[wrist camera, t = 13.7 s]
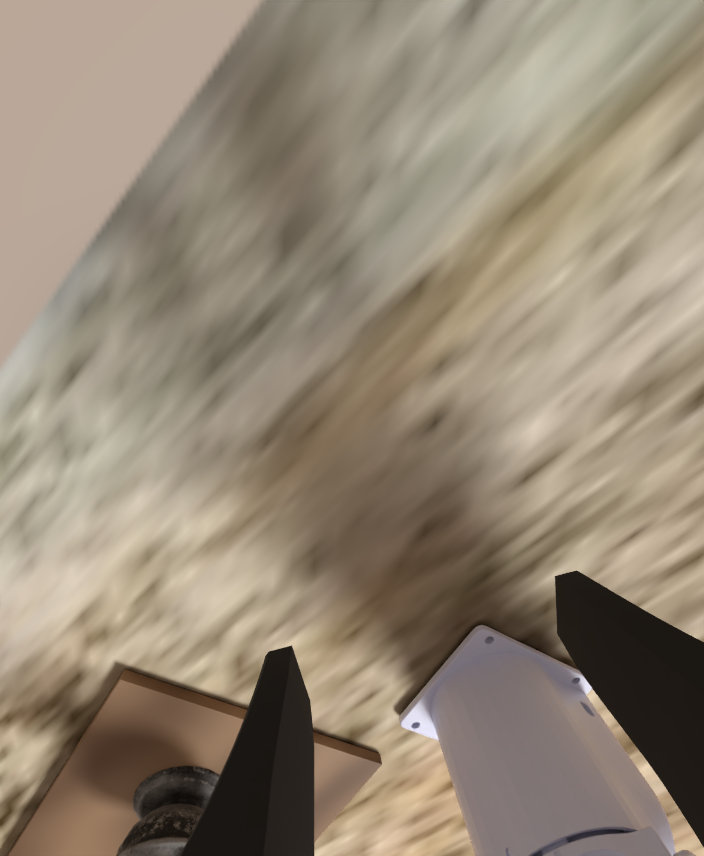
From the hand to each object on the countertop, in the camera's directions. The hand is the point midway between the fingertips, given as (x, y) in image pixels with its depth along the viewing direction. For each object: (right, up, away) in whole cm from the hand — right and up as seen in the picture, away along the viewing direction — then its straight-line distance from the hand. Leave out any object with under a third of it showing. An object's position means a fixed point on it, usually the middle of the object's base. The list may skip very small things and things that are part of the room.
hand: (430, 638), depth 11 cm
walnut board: (-11, -17, +14) cm, 25 cm away
